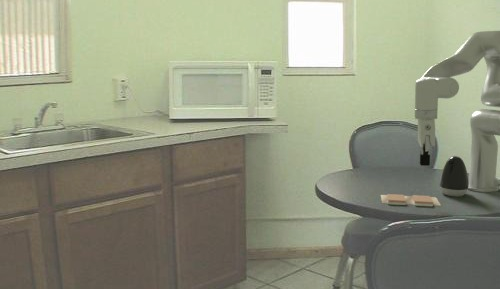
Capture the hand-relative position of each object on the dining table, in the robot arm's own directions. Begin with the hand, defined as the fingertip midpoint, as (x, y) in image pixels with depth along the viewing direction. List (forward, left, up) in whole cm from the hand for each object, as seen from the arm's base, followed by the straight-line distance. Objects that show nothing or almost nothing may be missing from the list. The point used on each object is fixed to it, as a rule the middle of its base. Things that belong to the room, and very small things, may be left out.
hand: (424, 164), depth 180 cm
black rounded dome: (-12, -11, -14) cm, 22 cm away
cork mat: (+5, 0, -14) cm, 15 cm away
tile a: (+1, -1, -12) cm, 12 cm away
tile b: (+10, -1, -12) cm, 16 cm away
